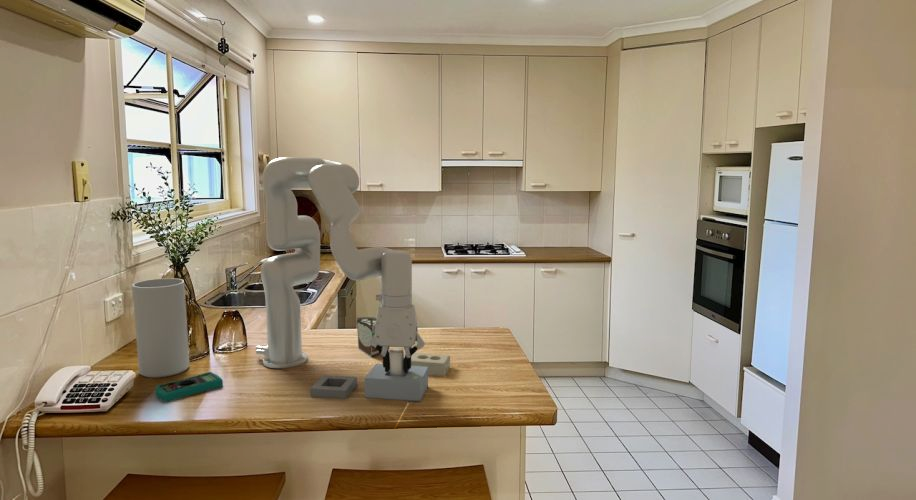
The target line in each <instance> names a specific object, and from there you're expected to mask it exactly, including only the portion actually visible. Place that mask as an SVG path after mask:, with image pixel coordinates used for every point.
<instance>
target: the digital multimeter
mask: <svg viewBox="0 0 916 500" xmlns="http://www.w3.org/2000/svg"><path fill="white" fill-rule="evenodd" d="M223 383H224V382H223V379H222V377H221V376H219V375H218V374H216V373H213V372H212V371H208V372H205V373H202V374H198V375H193V376H190V377H186V378H181V379H179V380H174V381H171V382H166V383H162V384H158V385H156V386H155V388H154V389H155V390H154V391H155V396H156V398H157V399H158V400H159V401H162V402H164V403H167V402H171V401H174V400H179V399H181V398H185V397H188V396H192V395H197V394H200V393H203V392H204V393H205V392H208V391H211V390H215V389H218V388H219V389H220V388H222V387H223V386H224V384H223Z"/></svg>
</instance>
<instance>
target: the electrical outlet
mask: <svg viewBox="0 0 916 500" xmlns="http://www.w3.org/2000/svg"><path fill="white" fill-rule="evenodd" d="M404 357H405V354H404ZM381 364H383V361H382V363H381ZM411 366H423V367H428V376H438V377H439V376H440V377H446V375H447V373H448V372H449V370H450V369H451V356H450V355H448V354H441V353H440V354H437V353H436V354H435V353H422V352H415V353H414V354H413V355H412V356H411Z"/></svg>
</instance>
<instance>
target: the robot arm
mask: <svg viewBox="0 0 916 500" xmlns="http://www.w3.org/2000/svg"><path fill="white" fill-rule="evenodd" d="M359 185H360V178H359V174H358V172H357V170H355V168H354V167H353V166H351V165H349V164H347V163H341V162H338V161H335V160H334V161H333V160H329V159H326V158H320V157H301V156H284V157H283V156H282V157H278V158H274V159H272V160H271V161H269V162H268V163H267V164H266V166H265V167H264V169H263V173H262V187H263V193H264V197H265V237H266V238H265V239H266V243H267V246H268V247H269V248H270V249H271V250H273V251H278V252H279V251H281V252H282V251H291V250H294V252H293V253H292V252H291V253H285V254H284V253H283V254H278V255H273V256H271V257H269V258H267V259H266V260H264V261H263V262H262V265H260V266H261V267H260V279H261V282H262V283H261V284H262V285H263V291H264V298H265V315H266V319H265V320H266V335H267V336H266V337H267V338H266V339H267V345H266V346H264V345H256V346H255V354H256V355H263V356H264V357H263V358H262V365H264V366H265V367H267V368H271V369H286V368H293V367H296V366H300V365H302V364H304V363H305V362H307V361H308V359H309V358H308V354H307V353H306V352H304V351H303V347H302V346H303V345H302V343H303V342H302V341H303V340H302V317H301V314H302V313H301V311H302V310H301V301H300V298H299V295H298V294H297V292H296V290H295V289H294V287H295V286H296V287H297V286H300V285H304V284H308V283H311V282H314V280H316V279H317V278H318V275H319V272H320V268H321V231H320V228H319V225H318V223H317V221H316V220H315V219H314V218H313V217H311V216H308V215H298V201H297V199H296V196H295V194H294V192H293V190H292V189H311V192H312V193H313V194H314V197H315V198H316V200H317V202H318V204H319V206H320V208H321V209H322V210H323V213H325V216H326V217H327V219H328V221H329V222H330V231H329V245H330V247H329V248H330V251H331V254H332V256H333V257H334V260H335V261H336V263H337V265H338V266H339V269H340V270H341V271H342V272H343V274H344V275H345V276H346V277H347V278H348V279H350V280H352V281H355V282H359V281H364V280H368V279H373V278H377V277H380V278H381V279H380V280H381V288H380V291H381V292H380V294H376V295H375V301H378V302H380V304H378V305H377V310H376V311H377V312H376V316H375V318H376V328H375V334H374V336H373V337H372V338H371V340H370V341H369V343H370V344H371V345H372V346H374V347H375V348H376V349H377V350H378V351H379V352H380V355H381V357H382V362H383V367H385V372H387V371H389V369H390V361H389V351H390V347H393V348H403V350H404V353H405V357H404V372H405V373H407V372H408V370H409V369H411V356H412V355H413V354H414V353H417V351H418V350H421V349H422V348H424V347H425V344H426V342H425V341H424V340H423V338H422V336H421V335H420V334H419V331H418V319H417V318H418V317H417V312H416V306H415V305H414V304H413V297H412V296H413V289H412V288H413V285H412V284H413V282H412V281H413V278H412V277H413V270H412V269H413V265H412V264H413V260H412V258H413V257H412V255H411V253H410V252H409V251H408V250H407V251H406V250H403V249H401V250H400V249H398V250H397V249H395V250H394V249H390V248H388V247H385V246H373V247H366V248H361V249H358V247H357V246H356V245H355V243H354V241H353V239H352V237H351V234H350V225H351V224H352V223H353V222H354V221H356V220H357V219H358V218H359V216H360V214H361V207H360V205H359V203H358V202H357V200H356V198H355V197H354V196H353V194H354V193H356V191H357V190H358V189H359Z"/></svg>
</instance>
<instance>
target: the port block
mask: <svg viewBox="0 0 916 500" xmlns="http://www.w3.org/2000/svg"><path fill="white" fill-rule="evenodd" d="M428 388H429V375H428V367H423V366H411V369H409V370H408V372H407V373H405V372H404V377H403V376H390V369H389V371H387V372H385V367H383V364H382V363H375V364H374V366H373V367H372V368H371V369H370V371H369V372H368V373H367V374H366V375H365V377H364V398H366V399H379V400H394V401H405V402H406V401H407V402H408V403H416V404H417V403H419V404H420V403H421V402H422V401H423V399H424V397H425V394H426V392H427V390H428Z"/></svg>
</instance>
